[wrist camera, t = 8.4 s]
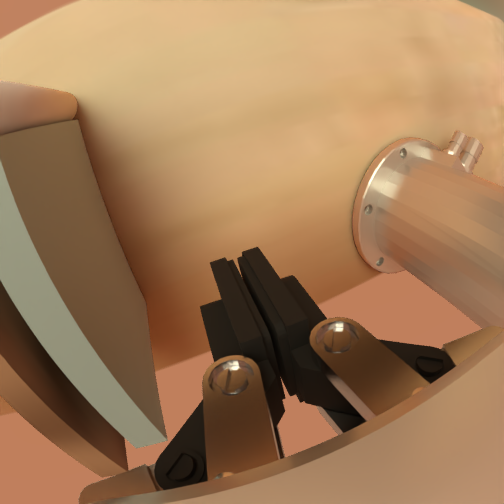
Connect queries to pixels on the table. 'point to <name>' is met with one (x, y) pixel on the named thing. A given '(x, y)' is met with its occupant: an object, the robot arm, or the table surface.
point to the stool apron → (53, 398)
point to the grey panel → (72, 262)
